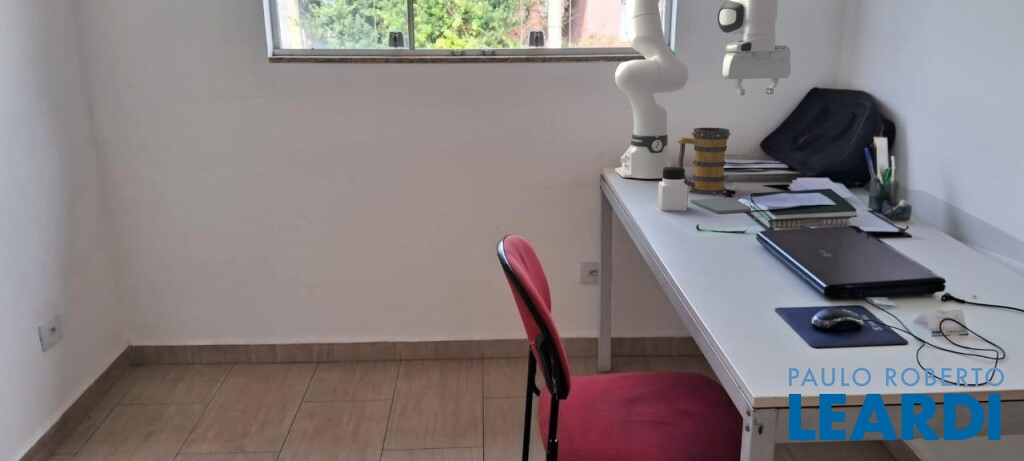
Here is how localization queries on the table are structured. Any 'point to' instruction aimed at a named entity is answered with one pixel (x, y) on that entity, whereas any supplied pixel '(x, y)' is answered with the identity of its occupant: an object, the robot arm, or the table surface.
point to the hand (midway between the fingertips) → (755, 94)
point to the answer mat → (722, 205)
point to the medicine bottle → (673, 190)
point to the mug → (706, 159)
